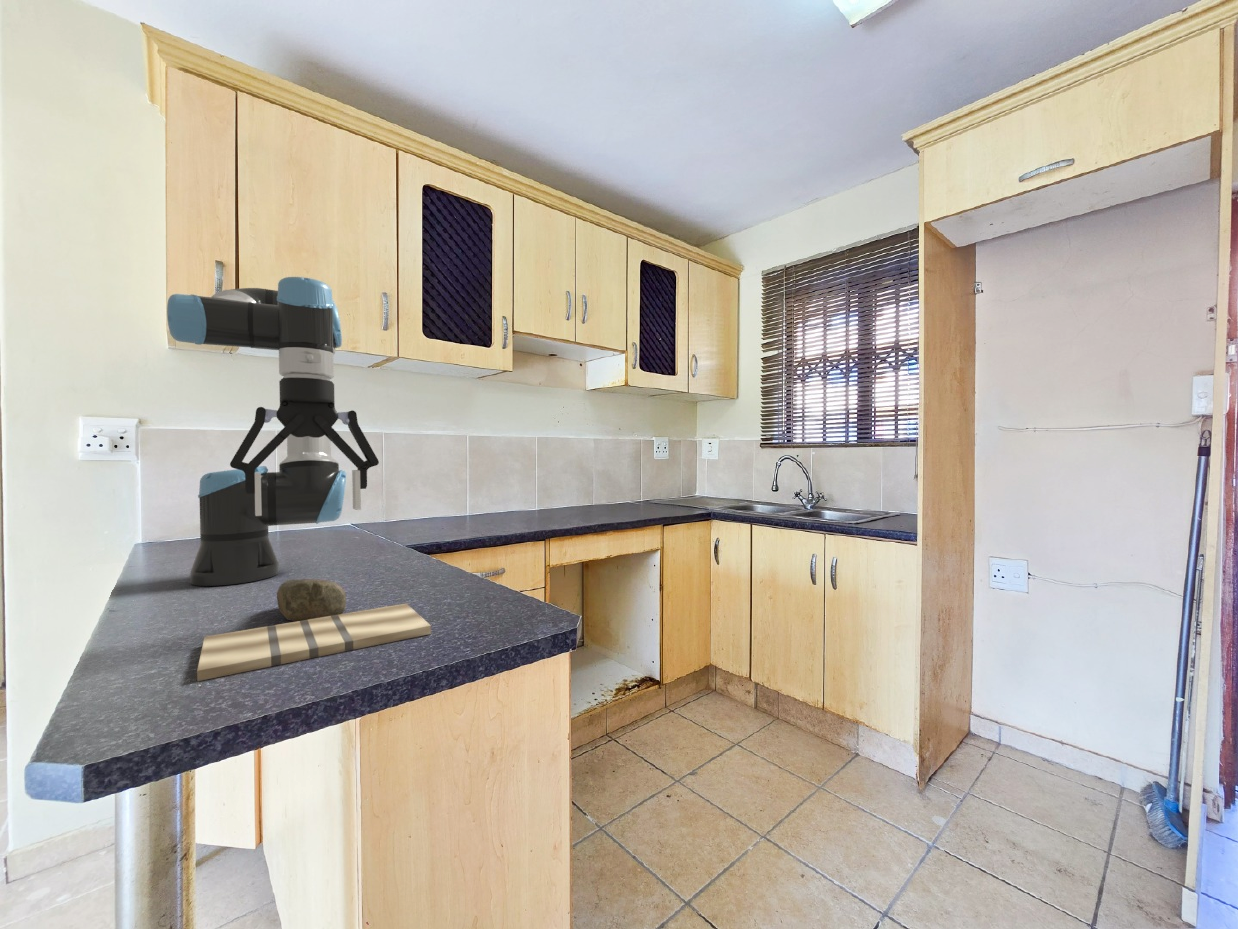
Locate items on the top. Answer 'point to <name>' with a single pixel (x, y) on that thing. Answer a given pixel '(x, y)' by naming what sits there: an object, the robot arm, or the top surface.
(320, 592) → the stone
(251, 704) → the top surface
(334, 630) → the board
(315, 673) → the top surface
